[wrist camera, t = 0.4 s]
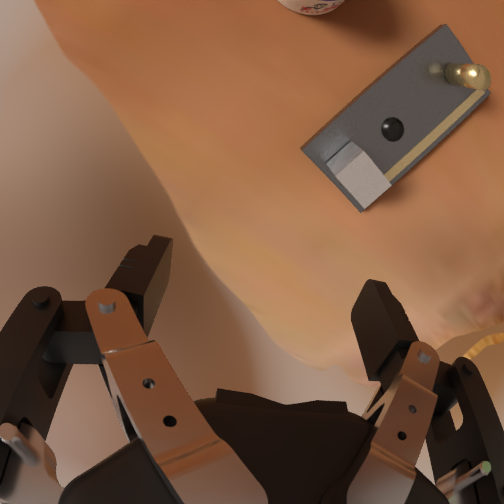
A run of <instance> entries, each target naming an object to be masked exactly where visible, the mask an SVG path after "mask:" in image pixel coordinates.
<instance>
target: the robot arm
mask: <svg viewBox="0 0 504 504" xmlns="http://www.w3.org/2000/svg"><path fill="white" fill-rule="evenodd" d="M172 247H173V239H172V238H168V237H163V236H158V235H154V236H153V237H152V239H151V240H150V242H149V244H148V245H147V246H143V245H137V246H136V247H134V248H132V249H130V250H129V251H128V253H127V254H126V256H125V257H124V260H123V261H122V262H121V263H120V266H119V267H118V268H117V270H116V271H115V273H114V274H113V276H112V277H111V279H110V281H109V282H108V284H107V285H106V287H105V288H104V289H99V290H96V291H94V292H92V293H91V294H90V295H89V296H88V297H87V299H86V300H85V301H62V299H61V295H60V293H59V292H58V291H57V290H56V289H54V288H52V287H47V286H43V287H37V288H34V289H32V290H30V291H29V292H28V293H27V294H26V295H25V296H24V297H23V299H22V300H21V302H20V303H19V304H18V306H17V307H16V309H15V310H14V312H13V313H12V315H11V316H10V318H9V319H8V321H7V322H6V324H5V325H4V327H3V329H2V330H1V332H0V503H2V504H504V431H503V428H502V425H501V423H500V420H499V418H498V415H497V412H496V410H495V407H494V405H493V402H492V400H491V397H490V395H489V393H488V391H487V388H486V386H485V383H484V381H483V379H482V377H481V375H480V372H479V370H478V368H477V367H476V365H475V364H474V363H473V362H472V361H471V360H469V359H467V358H465V357H459V358H457V359H456V360H455V361H454V363H453V364H452V365H450V364H447V363H444V362H442V361H440V359H439V356H438V354H437V352H436V351H435V350H434V349H433V348H432V347H431V346H430V345H428V344H427V343H424V342H421V341H419V339H418V337H417V335H416V333H415V331H414V329H413V327H412V325H411V323H410V321H408V320H409V319H408V317H407V315H406V314H405V311H404V309H403V307H402V305H401V303H400V302H399V301H398V300H397V299H396V298H395V297H394V296H393V295H392V293H391V291H390V289H389V287H388V286H387V284H386V283H385V282H382V281H377V280H372V279H369V280H367V281H366V283H365V284H364V287H363V289H362V290H361V292H360V294H359V296H358V298H357V300H356V302H355V304H354V306H353V308H352V312H351V322H352V325H353V328H354V332H355V335H356V338H357V342H358V345H359V348H360V352H361V355H362V359H363V362H364V366H365V369H366V373H367V376H368V380H369V381H380V383H381V384H380V386H379V387H378V388H377V390H376V391H375V393H374V395H373V397H372V399H371V401H370V402H369V404H368V406H367V408H366V410H365V411H364V413H363V415H362V416H361V417H360V416H358V415H357V414H354V413H351V412H349V411H348V409H347V404H346V402H341V401H340V402H339V401H322V400H321V401H320V400H316V401H310V402H304V403H298V404H291V405H284V404H281V403H278V402H275V401H271V400H269V399H266V398H263V397H260V396H257V395H254V394H250V393H244V392H237V391H231V390H224V389H219V388H218V389H217V392H216V396H215V398H206V399H200V400H196V401H193V400H192V399H191V397H190V395H189V394H188V392H187V391H186V389H185V388H184V386H183V384H182V383H181V381H180V380H179V378H178V377H177V375H176V373H175V371H174V370H173V368H172V366H171V365H170V363H169V361H168V359H167V358H166V356H165V354H164V353H163V351H162V349H161V347H160V346H159V344H158V343H157V342H156V341H155V340H152V341H149V340H148V335H149V332H150V330H151V327H152V324H153V322H154V319H155V316H156V314H157V311H158V308H159V306H160V303H161V301H162V298H163V295H164V293H165V290H166V288H167V284H168V281H169V276H170V268H171V257H172ZM73 364H97V366H98V368H99V371H100V374H101V377H102V379H103V382H104V384H105V387H106V389H107V392H108V394H109V397H110V399H111V401H112V404H113V406H114V409H115V411H116V414H117V417H118V419H119V422H120V424H121V427H122V429H123V431H124V433H125V435H126V437H127V439H128V441H129V443H128V444H127V445H125V446H124V447H122V448H121V449H119V450H118V451H116V452H115V453H113V454H112V455H110V456H109V457H107V458H106V459H104V460H103V461H101V462H100V463H98V464H97V465H95V466H93V467H92V468H90V469H89V470H87V471H85V472H84V473H82V474H81V475H79V476H77V477H76V478H74V479H73V480H72V481H71V482H70V483H69V484H68V485H67V486H66V487H65V488H63V487H61V485H60V484H59V482H58V480H57V476H56V465H57V464H56V458H55V454H54V452H53V451H52V449H51V448H50V447H49V446H48V444H47V443H46V442H45V441H46V437H47V434H48V431H49V428H50V425H51V422H52V419H53V416H54V413H55V411H56V408H57V405H58V402H59V399H60V397H61V394H62V392H63V389H64V386H65V384H66V381H67V379H68V376H69V374H70V371H71V369H72V366H73ZM457 402H458V403H459V406H460V409H461V412H462V414H463V423H462V425H461V427H460V428H459V429H458V430H457V431H456V429H455V426H454V422H453V419H452V416H451V413H450V409H451V408H452V407H453V406H454V405H455V404H456V403H457ZM425 439H426V443H427V447H428V452H429V456H430V461H431V466H432V470H433V475H434V480H435V485H434V484H433V483H432V482H431V481H430V480H429V479H428V478H426V477H425V476H424V475H423V474H422V473H421V472H420V471H419V470H418V469H417V468H416V467H415V465H416V462H417V459H418V457H419V454H420V451H421V449H422V446H423V443H424V440H425Z"/></svg>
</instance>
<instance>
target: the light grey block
mask: <svg viewBox="0 0 504 504" xmlns="http://www.w3.org/2000/svg"><path fill="white" fill-rule="evenodd" d="M326 164H327V166H328V167H329V168H330V170H331V171H332V173H333V174H334V175H335V177H336V178H337V179H338V180H339V181H340V182H341V183H342V184H343V185H344V186H345V188H346V189H347V190H348V191H349V192H350V193H351V194H352V195H353V196H354V198H355V199H356V200H357V201H358V202H359V203H360V204H361V205H362V207H363V208H364V209H365V208H366V207H367V206H369V205H370V204H371V203H372V202H373V201H374V200H376V199H377V198H378V197H379V196H380V195H381V194H382V193H383V192H385V191H386V190H387V189H388V188H389V187H390V186H391V184H390V182H389V181H388V180H387V178H386V177H385V176H384V175H383V173H382V172H381V171H380V170H379V168H378V167H377V166H376V165H375V164H374V162H373V161H372V160H371V159H370V157H369V156H368V155H367V154H366V153H365V152H364V151H363V150H362V149H361V148H360V147H358V146H357V145H356V144H354V143H353V142H352V141H350V142H349V143H348V144H347V145H346V146H345V147H344V148H343V149H341V150H340V151H339V152H338V153H337V154H336V155H335V156H334V157H333V158H332V159H330V160H329V161H328V162H327V163H326Z"/></svg>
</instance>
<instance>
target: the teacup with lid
mask: <svg viewBox="0 0 504 504" xmlns="http://www.w3.org/2000/svg"><path fill="white" fill-rule="evenodd" d="M278 1H279V2H280V3H281V4H282V5H284V6H285V7H287V8H288V9H290V10H292V11H295V12H297V13H300V14H305V15H321V14H325V13H328V12H330V11H332V10H334V9H336V8H337V7H338V6H339V5H340V4H341V3H343V2H344V1H345V0H278Z"/></svg>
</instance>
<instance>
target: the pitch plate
mask: <svg viewBox="0 0 504 504" xmlns="http://www.w3.org/2000/svg"><path fill="white" fill-rule="evenodd" d="M490 84H491V76H490V73H489V71H488V70H487V68H486V67H485V66H483V65H480V64H473V62H472V61H471V59H470V57H469V56H468V54H467V53H466V51H465V50H464V48H463V47H462V45H461V44H460V42H459V41H458V40H457V38H456V37H455V35H454V34H453V33H452V31H451V30H450V28H449V27H448V26H447V24H444V25H440V26H439V27H437V28H436V29H435V30H434V31H432V32H431V33H430V34H429V35H428V36H426V37H425V38H424V39H423V40H421V41H420V42H419V43H418V44H417V45H415V46H414V47H413V48H412V49H411V50H409V51H408V52H407V53H406V54H405V55H404V56H402V57H401V58H400V59H399V60H398V61H396V62H395V63H394V64H393V65H392V66H391V67H389V68H388V69H387V70H386V71H385V72H384V73H383V74H381V75H380V76H379V77H378V78H377V79H376V80H374V81H373V82H372V83H371V84H370V85H369V86H368V87H367V88H365V89H364V90H363V91H362V92H361V93H360V94H359V95H357V96H356V97H355V98H354V99H353V100H352V101H351V102H350V103H349V104H347V105H346V106H345V107H344V108H343V109H342V110H341V111H340V112H339V113H337V114H336V115H335V116H334V117H333V118H332V119H331V120H330V121H329V122H328V123H327V124H325V125H324V126H323V127H322V128H321V129H320V130H319V131H318V132H317V133H316V134H315V135H314V136H312V137H311V138H310V139H309V140H308V141H307V142H306V143H305V144H304V145H303V146H302V147H301V150H302V151H303V152H304V153H305V154H306V155H307V156H308V157H309V158H310V159H311V160H312V161H313V162H314V163H315V165H316V166H317V167H318V168H319V169H320V170H321V171H322V172H323V173H324V174H325V175H326V176H327V177H328V178H329V179H330V180H331V181H332V182H333V183H334V184H335V185H336V186H337V187H338V189H339V190H340V191H341V192H342V193H343V194H344V195H345V196H346V197H347V198H348V199H349V201H350V202H351V203H352V204H353V205H354V206H355V207H356V208H357V209H358V211H359V212H360V213H361V212H362V211H363V210H365V209H366V208H367V207H368V206H367V207H366V208H365V209H364V208H363V207H362V205H361V204H360V203H359V202H358V201H357V200H356V199H355V198H354V196H353V195H352V194H351V193H350V192H349V191H348V190H347V189H346V188H345V186H344V185H343V184H342V183H341V182H340V181H339V180H338V179H337V178H336V177H335V175H334V174H333V173H332V171H331V170H330V168H329V167H328V166H327V164H326V163H327V162H328V161H329V160H330V159H332V158H333V157H334V156H335V155H336V154H337V153H338V152H339V151H340V150H341V149H343V148H344V147H345V146H346V145H347V144H348V143H349V142H350V141H352V142H353V143H354V144H356V145H357V146H358V147H360V148H361V149H362V150H363V151H364V152H365V153H366V154H367V155H368V156H369V157H370V159H371V160H372V161H373V162H374V164H375V165H376V166H377V167H378V168H379V170H380V171H381V172H382V173H383V175H384V176H385V177H386V178H387V180H388V181H389V182H390V184H391V186H392V185H393V184H394V183H395V182H396V181H398V180H399V179H400V178H401V177H402V176H403V175H404V174H405V173H407V172H408V171H409V170H410V169H411V168H412V167H413V166H414V165H415V164H416V163H418V162H419V161H420V160H421V159H422V158H423V157H424V156H425V155H426V154H427V153H429V152H430V151H431V150H432V149H433V148H434V147H435V146H436V145H437V144H438V143H439V142H440V141H441V140H443V139H444V138H445V137H446V136H447V135H448V134H449V133H450V132H451V131H452V130H453V129H454V128H455V127H456V126H457V125H458V124H460V123H461V122H462V121H463V120H464V119H465V118H466V117H467V116H468V115H469V114H470V113H471V112H472V111H473V110H474V109H475V108H476V107H477V106H478V105H479V104H480V103H481V102H482V101H483V100H484V99H485V98H486V97H487V96H488V95H489V94H490V91H489V90H488V88H489V87H490ZM391 186H390V187H391ZM390 187H389V188H390ZM389 188H388V189H389ZM383 193H384V192H383ZM383 193H382V194H383ZM382 194H381V195H382ZM381 195H380V196H381ZM374 201H375V200H374ZM374 201H373V202H374ZM373 202H372V203H373Z"/></svg>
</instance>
